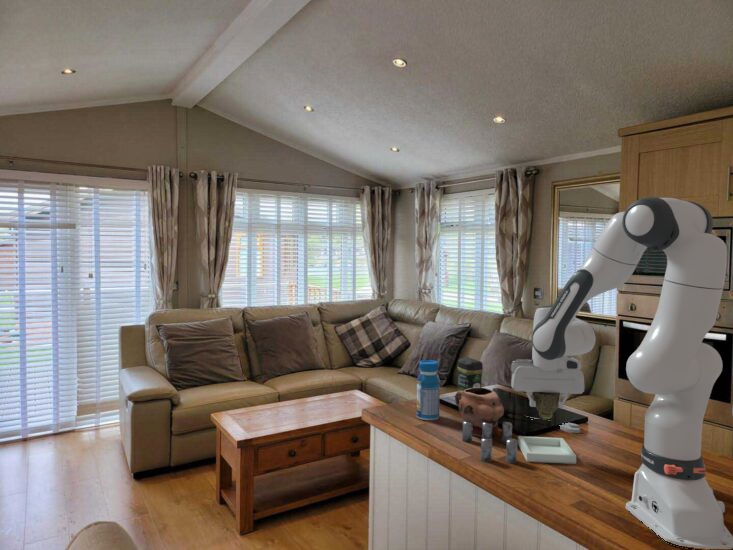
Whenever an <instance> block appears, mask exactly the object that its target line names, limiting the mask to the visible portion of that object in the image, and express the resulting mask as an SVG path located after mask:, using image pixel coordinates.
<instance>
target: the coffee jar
mask: <svg viewBox="0 0 733 550" xmlns="http://www.w3.org/2000/svg"><path fill="white" fill-rule="evenodd" d="M483 371H484V365H483V362H482V361H481V360H478V359H474V358H471V357H469V356H466V357H460V358H459V359H458V360H457V372H458V373H457V375H458V378H457V379H458V380H457V392H458V391H464V390H465V389H469V388H483V387H482V385H483V384H482V378H483V377H482V376H483ZM461 398H462V396H460V398H459V402H460V400H461Z"/></svg>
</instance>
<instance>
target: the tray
mask: <svg viewBox="0 0 733 550" xmlns="http://www.w3.org/2000/svg"><path fill="white" fill-rule="evenodd" d="M517 446H519V449H520V451H521V452H522V455H523V457H524V459H525V461H526V462H530V463H531V462H532V463H546V464H549V463H550V464H566V465H567V464H569V465H577V455H576V453H575V452H574V451H573V449H572V448H571V447H570V446H569V444H568V443H567V442H566V441H565V439H564V438H563V437H548V436H525V435H524V436H523V435H517Z"/></svg>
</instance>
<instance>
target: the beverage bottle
mask: <svg viewBox="0 0 733 550" xmlns="http://www.w3.org/2000/svg"><path fill="white" fill-rule="evenodd" d="M418 369H419V370H418V371H419V374H418V376H417V379H416V382H417V384H416V388H415V389H416V412H415V413H416V415H415V416H416V417H417V418H418V419H420V420H422V421H437V420H438V419H439V418H440V393H441V386H440V383H441V379H440V377H439V375H438V372H439V362H438V361H437V360H432V359H422V360H420V361H419V363H418Z"/></svg>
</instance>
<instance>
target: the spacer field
mask: <svg viewBox="0 0 733 550" xmlns="http://www.w3.org/2000/svg"><path fill="white" fill-rule="evenodd" d="M472 430H473V422H472V421H469V420H464V421H463V420H462V441H463V442H464V443H467V444H468V443H472V442H473V434H472ZM512 436H513V423H512V422H508V421H503V422H501V444H503V445H506V446H505V447H506V448H505V461H506V463H508V464H517V463H518V439H516V438H513V437H512ZM480 440H481V441H480V460H481V461H482V462H485V463H490V462H492V459H493V458H492V457H493V436H492V422H489V421H483V422H482V436H481V439H480Z"/></svg>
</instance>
